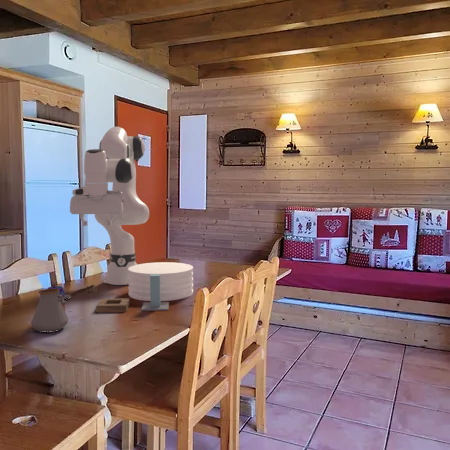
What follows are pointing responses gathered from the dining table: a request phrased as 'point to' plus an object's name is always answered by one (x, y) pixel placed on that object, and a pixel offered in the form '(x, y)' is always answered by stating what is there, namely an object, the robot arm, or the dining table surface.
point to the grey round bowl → (61, 290)
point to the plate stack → (161, 280)
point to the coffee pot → (52, 310)
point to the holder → (113, 305)
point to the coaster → (148, 307)
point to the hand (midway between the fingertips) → (97, 225)
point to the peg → (155, 290)
